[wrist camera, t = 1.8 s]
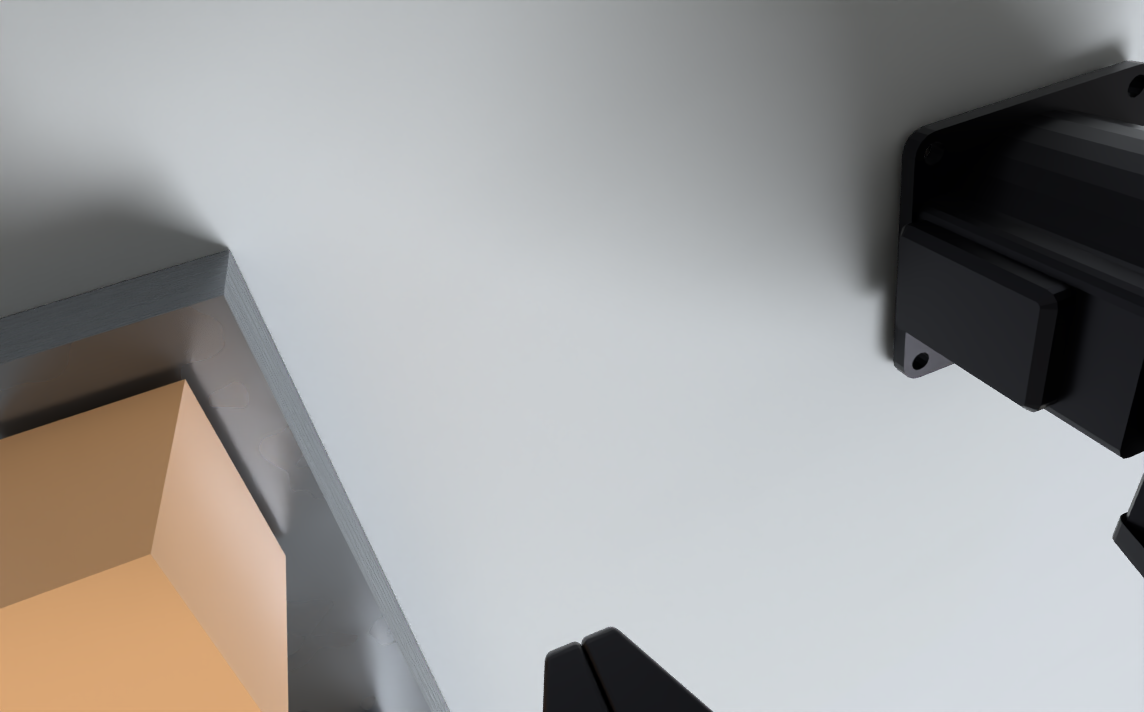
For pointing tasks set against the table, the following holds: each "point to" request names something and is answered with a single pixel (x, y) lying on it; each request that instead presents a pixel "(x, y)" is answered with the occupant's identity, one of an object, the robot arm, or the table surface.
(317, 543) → the panel
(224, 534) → the slider orange
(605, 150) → the table surface
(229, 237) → the table surface
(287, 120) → the table surface
